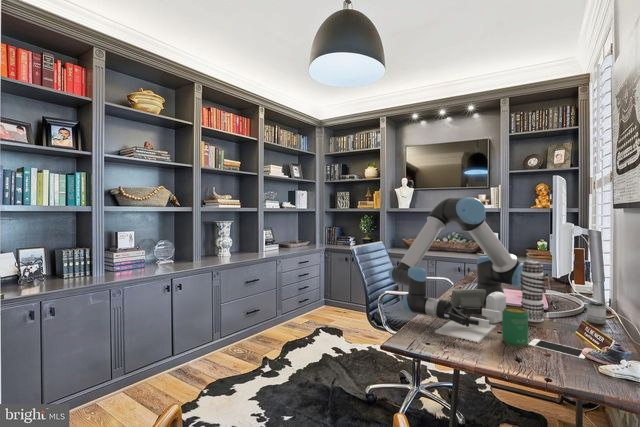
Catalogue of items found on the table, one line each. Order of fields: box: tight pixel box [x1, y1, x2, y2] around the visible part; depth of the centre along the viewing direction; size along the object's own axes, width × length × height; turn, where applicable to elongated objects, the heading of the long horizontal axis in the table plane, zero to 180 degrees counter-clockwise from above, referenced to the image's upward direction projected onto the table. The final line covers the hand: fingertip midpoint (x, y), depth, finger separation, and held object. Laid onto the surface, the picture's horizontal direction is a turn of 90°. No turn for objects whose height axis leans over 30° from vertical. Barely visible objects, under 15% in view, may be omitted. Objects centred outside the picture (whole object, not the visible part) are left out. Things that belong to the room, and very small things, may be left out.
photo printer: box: [485, 292, 507, 324], centre depth 148 cm, size 10×4×12 cm, turn 123°
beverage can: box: [501, 306, 529, 348], centre depth 124 cm, size 8×8×12 cm
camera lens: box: [586, 301, 607, 325], centre depth 146 cm, size 6×6×8 cm
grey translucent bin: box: [449, 288, 486, 307], centre depth 161 cm, size 16×9×11 cm, turn 81°
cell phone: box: [527, 338, 586, 360], centre depth 119 cm, size 8×16×1 cm, turn 43°
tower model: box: [519, 260, 546, 323], centre depth 150 cm, size 9×9×25 cm
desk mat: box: [434, 320, 496, 344], centre depth 138 cm, size 22×16×1 cm
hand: (494, 319), depth 128 cm, fingers open, 13 cm apart
